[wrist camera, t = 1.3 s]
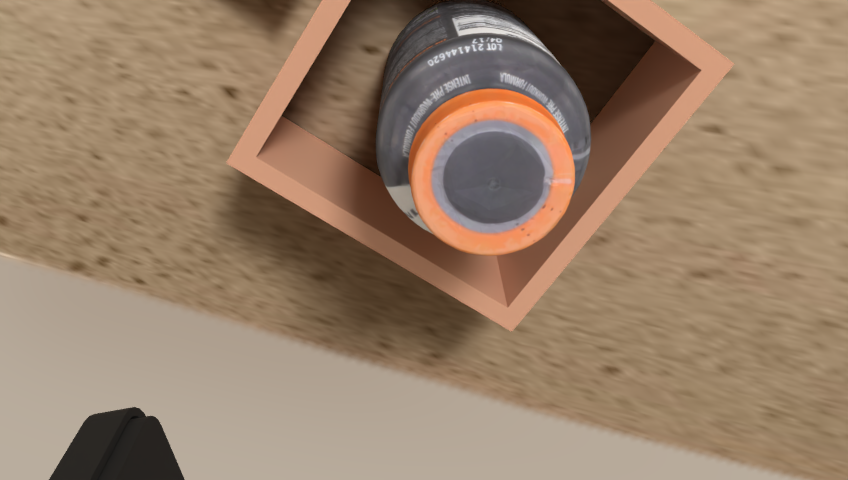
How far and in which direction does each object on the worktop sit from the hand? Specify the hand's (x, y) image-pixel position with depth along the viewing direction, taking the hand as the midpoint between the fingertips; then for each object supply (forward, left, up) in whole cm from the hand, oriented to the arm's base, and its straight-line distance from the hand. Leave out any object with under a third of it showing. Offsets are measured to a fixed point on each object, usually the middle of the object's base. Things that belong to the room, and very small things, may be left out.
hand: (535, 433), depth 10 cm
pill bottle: (0, 0, -21) cm, 21 cm away
